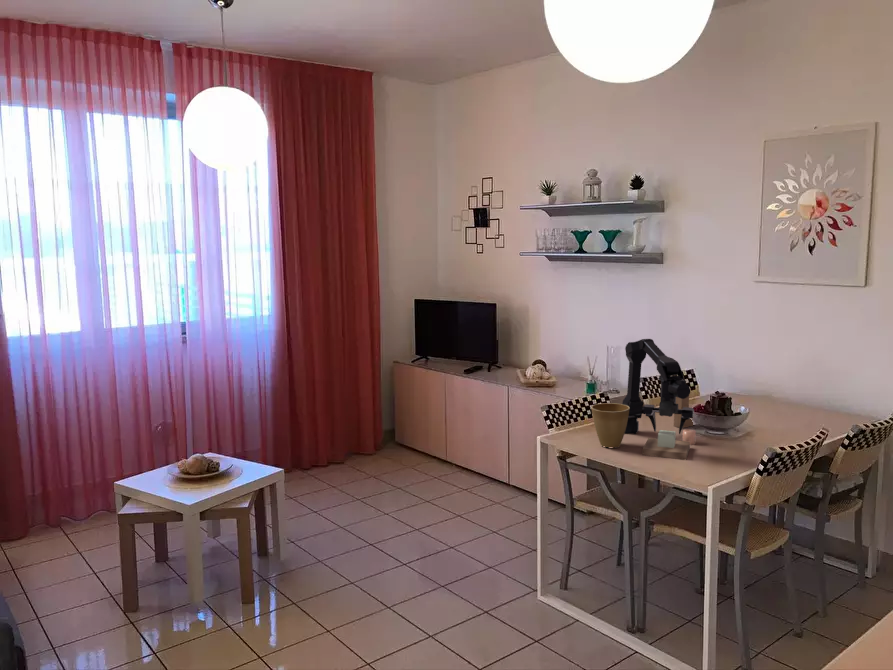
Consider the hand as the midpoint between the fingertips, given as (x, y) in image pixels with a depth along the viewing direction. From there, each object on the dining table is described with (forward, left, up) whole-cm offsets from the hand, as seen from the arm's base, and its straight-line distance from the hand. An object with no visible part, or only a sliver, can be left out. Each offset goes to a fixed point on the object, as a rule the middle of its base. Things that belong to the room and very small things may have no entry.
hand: (667, 432), depth 282 cm
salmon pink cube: (+7, +15, -8) cm, 18 cm away
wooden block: (+3, +41, -8) cm, 42 cm away
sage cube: (0, 0, -5) cm, 5 cm away
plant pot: (-22, 0, -8) cm, 23 cm away
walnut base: (0, 0, -8) cm, 8 cm away
